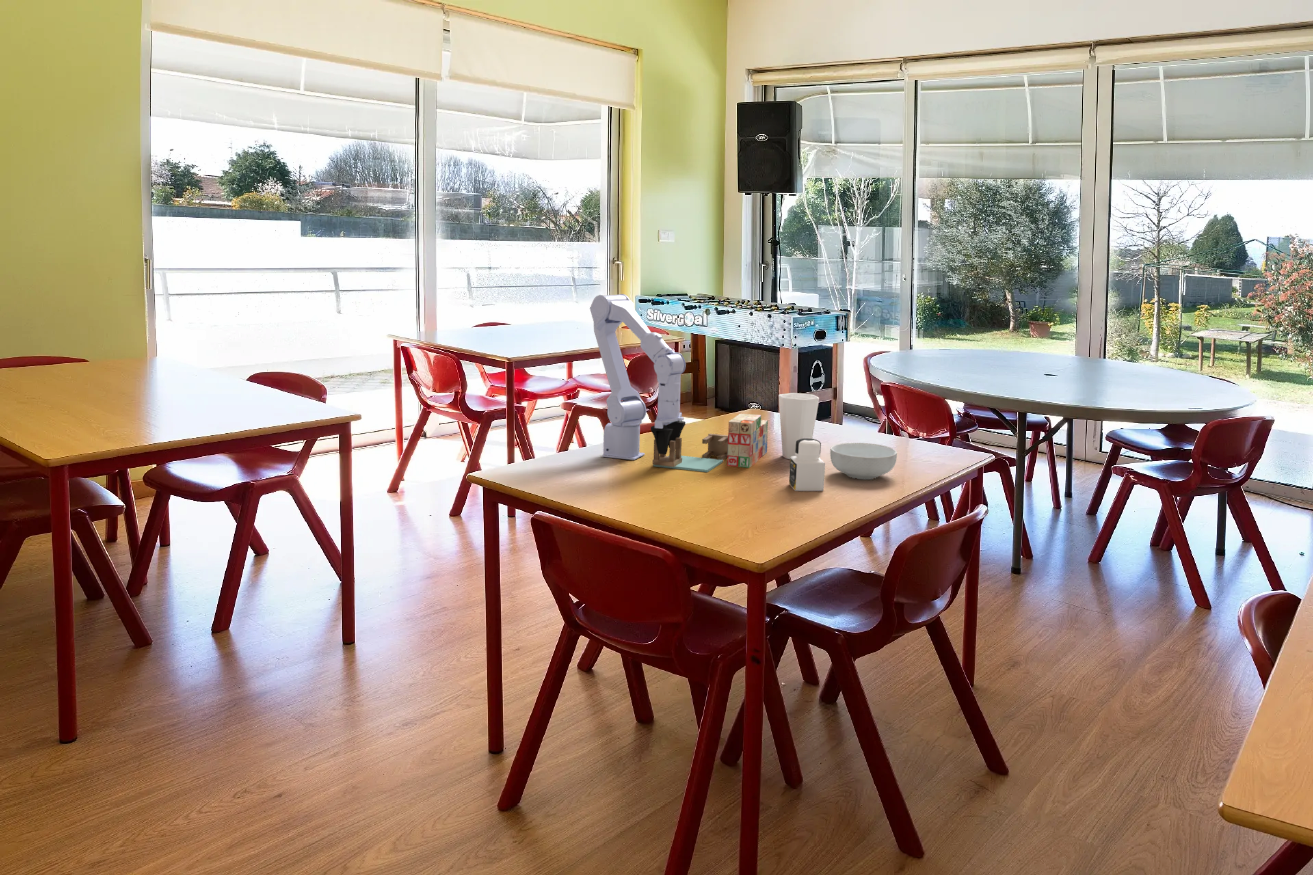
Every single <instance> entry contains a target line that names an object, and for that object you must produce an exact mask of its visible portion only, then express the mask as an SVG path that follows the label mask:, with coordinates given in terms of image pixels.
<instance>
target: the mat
mask: <svg viewBox="0 0 1313 875" xmlns="http://www.w3.org/2000/svg"><path fill="white" fill-rule="evenodd" d="M681 458H682V463H680V464H678V465H676V466H674V467H671V466H662V465H653V464H652V466H653V467H657V468H658V467H659V468H666V469H676V470H684V471H692V472H693V471H694V472H700V473H701V472H703V473H709V472H710V471H712V470H714V469H715V468H716V467H718V466H720V465H721V464H723V463H724V460H718V459H717V458H702V457H698V456H691V455H690V456H688V455H681Z"/></svg>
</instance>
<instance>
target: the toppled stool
mask: <svg viewBox="0 0 1313 875" xmlns="http://www.w3.org/2000/svg"><path fill="white" fill-rule="evenodd" d="M701 444H705V445H707V451H706V452H704V453H703V454H702V455H701V458H708V459H711V457H715V458H716V457H717V458H716V459H718V460H723V461H725V460H727V455H728V434H717V433H708V434H707V435H706V436H705V437H703V438H702V440H701Z"/></svg>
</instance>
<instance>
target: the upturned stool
mask: <svg viewBox="0 0 1313 875" xmlns="http://www.w3.org/2000/svg"><path fill="white" fill-rule="evenodd" d="M675 448H676V449H675ZM668 451H669V452H668V453H669V455H667V454H659V453H658V450H657V445H656V441H655V438H654V439H653V459H652V466H653V465H662V466H671V467H674V466H676V465H678V464H680V463H682V458H681V456H682V437H680V438H676V441H672V440H671V441H670V448H668Z"/></svg>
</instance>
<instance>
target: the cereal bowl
mask: <svg viewBox="0 0 1313 875" xmlns="http://www.w3.org/2000/svg"><path fill="white" fill-rule="evenodd" d="M829 454H830V461H831V463H832V466H833V467H834V468H835V469H836V470H837V471H839V472H840V473H843V474H845V475H846V476H847V477H849V476H850V477H849V478H851V477H852V478H851V479H855V478H857V479H858V480H874V479H873V478H875V479H877V478H879V476H883V475H885V474H888V473H890V472H891V471H892V470H893V469H894V467H895V465H896V463H897V457H898V452H897V450H896V449H894V448H892V447H890V446H887V445H883V444H877V443H865V442H845V443H839V444H834V445H832V446H831V447H830V450H829ZM876 477H877V478H876ZM857 479H856V480H857Z"/></svg>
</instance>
